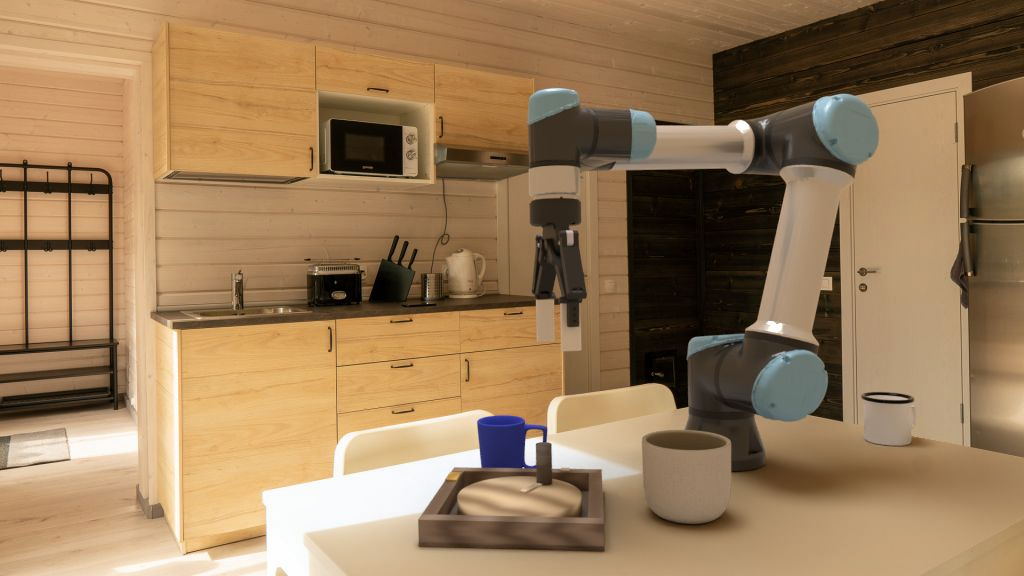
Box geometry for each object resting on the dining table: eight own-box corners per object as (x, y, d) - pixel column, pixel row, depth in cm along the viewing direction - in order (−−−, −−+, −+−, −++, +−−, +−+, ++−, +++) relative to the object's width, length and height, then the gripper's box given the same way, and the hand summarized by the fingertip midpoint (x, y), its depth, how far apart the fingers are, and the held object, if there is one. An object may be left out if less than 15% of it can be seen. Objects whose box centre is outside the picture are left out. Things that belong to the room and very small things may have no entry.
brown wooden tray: (602, 490, 114) (601, 467, 113) (604, 551, 90) (603, 521, 90) (454, 488, 116) (454, 465, 116) (418, 546, 92) (418, 517, 92)
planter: (717, 537, 94) (716, 455, 93) (629, 520, 100) (628, 444, 100) (741, 508, 104) (741, 435, 104) (660, 495, 111) (659, 426, 110)
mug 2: (888, 449, 135) (888, 402, 135) (850, 438, 144) (850, 393, 144) (935, 442, 139) (935, 397, 139) (895, 432, 148) (895, 389, 148)
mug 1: (544, 487, 116) (543, 426, 116) (472, 484, 118) (471, 424, 118) (551, 472, 124) (550, 416, 124) (484, 470, 126) (483, 414, 126)
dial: (535, 544, 90) (534, 479, 90) (431, 517, 101) (430, 458, 101) (604, 504, 105) (603, 448, 105) (507, 484, 116) (506, 433, 115)
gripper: (609, 189, 92) (612, 354, 93) (555, 206, 116) (558, 336, 117) (554, 189, 91) (557, 357, 91) (511, 206, 114) (513, 338, 115)
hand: (557, 346), depth 104 cm, fingers open, 12 cm apart
